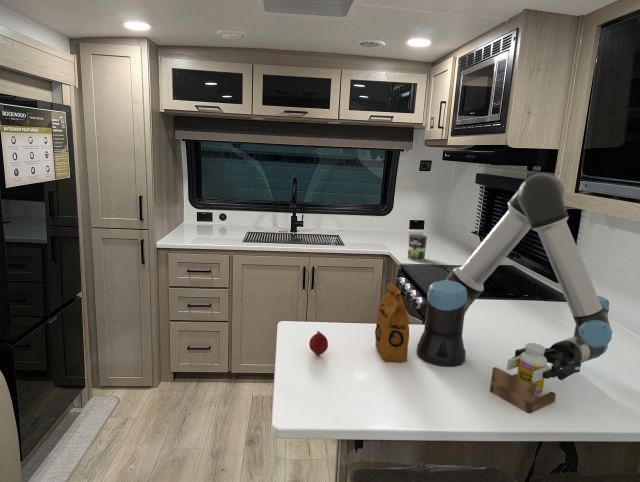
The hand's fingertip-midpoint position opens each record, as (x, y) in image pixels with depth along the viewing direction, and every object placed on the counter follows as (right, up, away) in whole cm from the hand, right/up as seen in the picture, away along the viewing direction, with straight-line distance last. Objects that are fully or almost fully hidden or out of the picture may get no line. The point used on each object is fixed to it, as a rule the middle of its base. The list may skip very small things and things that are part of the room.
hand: (520, 370), depth 119 cm
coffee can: (+5, +23, +153) cm, 155 cm away
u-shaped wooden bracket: (+2, -8, +4) cm, 9 cm away
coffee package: (-30, -2, +25) cm, 39 cm away
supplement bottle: (+4, -7, +4) cm, 9 cm away
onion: (-53, -2, +22) cm, 58 cm away
